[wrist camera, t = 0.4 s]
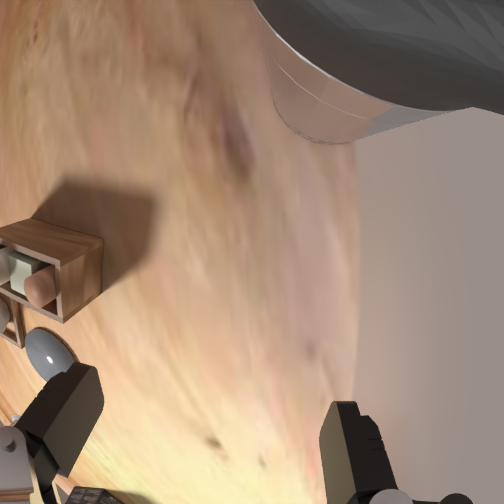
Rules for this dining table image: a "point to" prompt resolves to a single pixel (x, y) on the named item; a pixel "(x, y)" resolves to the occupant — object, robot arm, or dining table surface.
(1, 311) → the salt shaker
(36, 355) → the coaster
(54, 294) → the caddy
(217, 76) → the dining table surface
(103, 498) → the small box
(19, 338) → the holder
